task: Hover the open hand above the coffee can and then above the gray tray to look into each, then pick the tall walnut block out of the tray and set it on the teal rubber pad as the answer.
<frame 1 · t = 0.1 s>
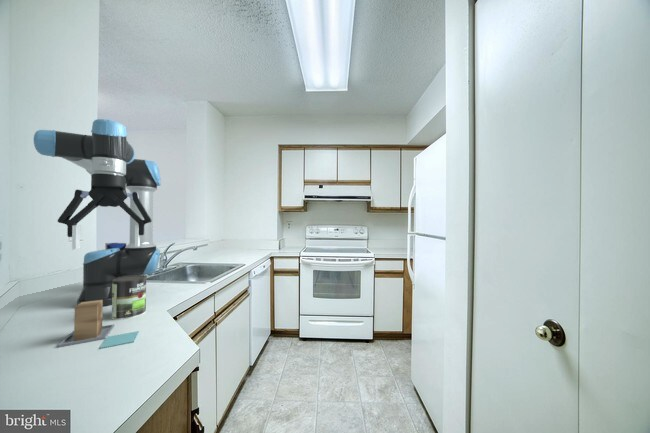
hand: (108, 247, 70), 28 cm above the worktop, tool pointing down, fingers open, 13 cm apart
teal pad: (120, 340, 72), on the worktop
gray tray: (88, 336, 74), on the worktop
coffee can: (129, 315, 92), on the worktop
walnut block: (88, 335, 74), resting on gray tray
juice carton: (115, 288, 128), on the worktop
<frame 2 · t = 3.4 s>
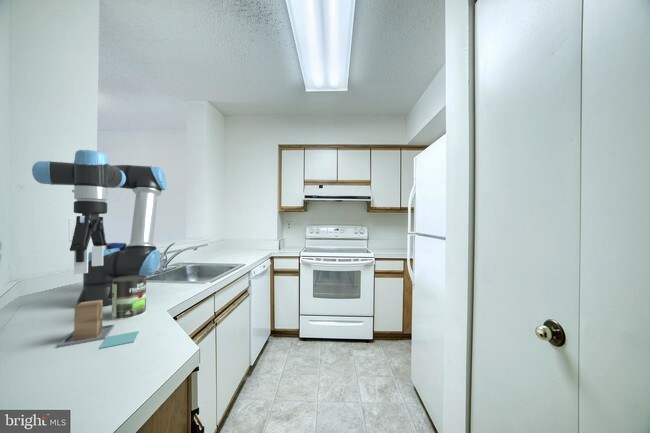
hand: (89, 269, 75), 21 cm above the worktop, tool pointing down, fingers open, 13 cm apart
nothing on the worktop moved.
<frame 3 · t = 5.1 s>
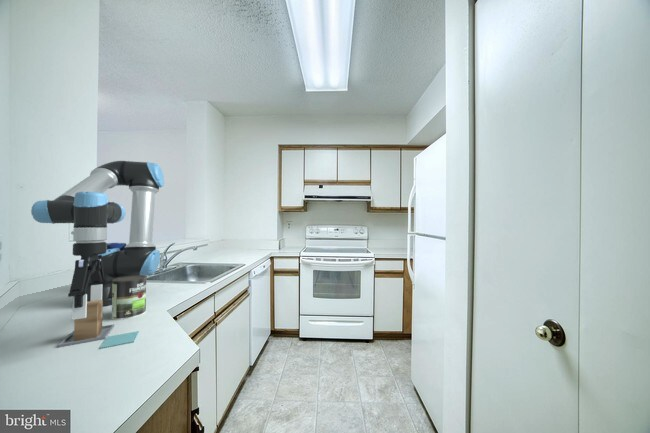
hand: (88, 311, 74), 8 cm above the worktop, tool pointing down, fingers open, 13 cm apart
nothing on the worktop moved.
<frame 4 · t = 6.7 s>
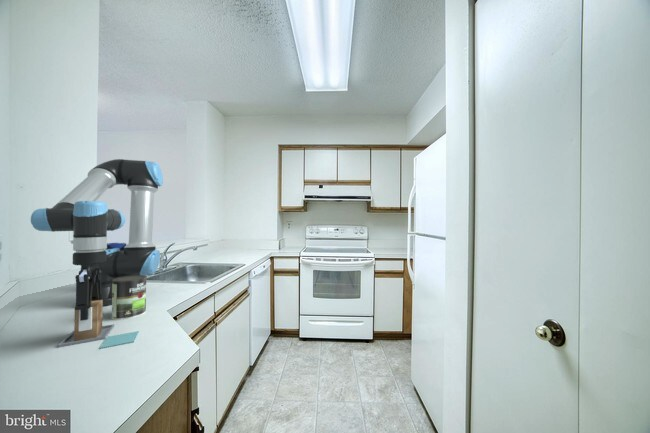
hand: (88, 326, 74), 3 cm above the worktop, tool pointing down, fingers closed on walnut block, 5 cm apart
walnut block: (88, 335, 74), resting on gray tray, touching gripper
everything else where it was.
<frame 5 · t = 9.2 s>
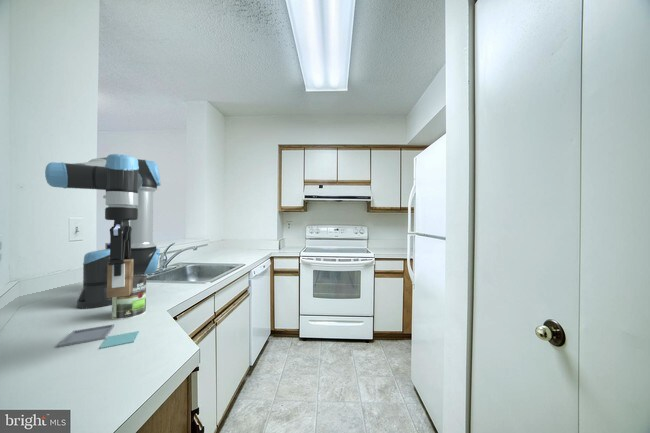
hand: (120, 284, 72), 17 cm above the worktop, tool pointing down, fingers closed on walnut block, 5 cm apart
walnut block: (120, 294, 72), point 14 cm above the worktop, touching gripper
everything else where it was.
when the fingers open (5 cm above the worktop, at t = 11.9 s): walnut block drops 1 cm, resting on teal pad.
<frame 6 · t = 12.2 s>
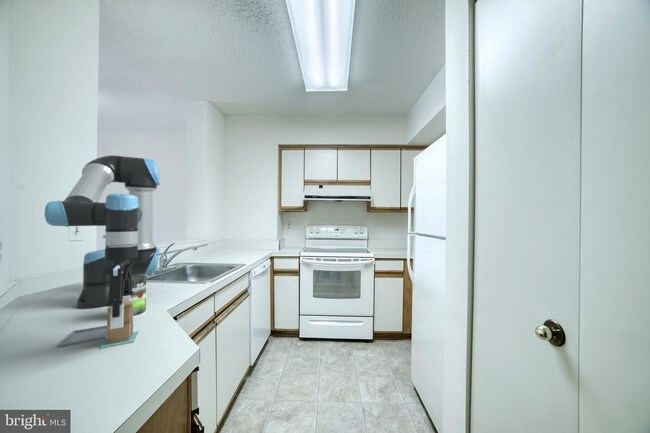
hand: (120, 322, 72), 6 cm above the worktop, tool pointing down, fingers open, 8 cm apart
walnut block: (120, 338, 72), point 1 cm above the worktop, touching teal pad
everything else where it was.
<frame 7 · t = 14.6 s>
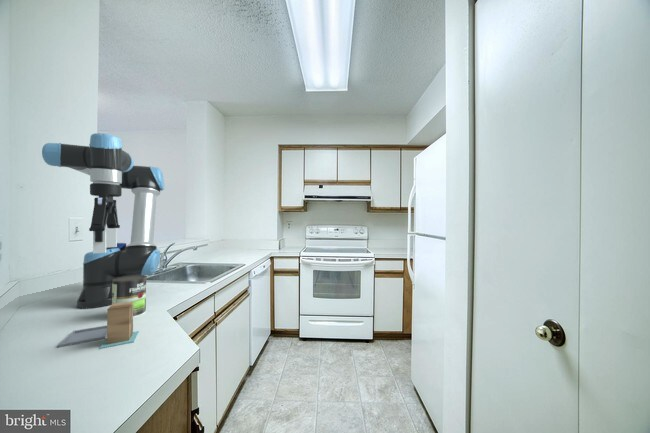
hand: (106, 249, 77), 26 cm above the worktop, tool pointing down, fingers open, 13 cm apart
nothing on the worktop moved.
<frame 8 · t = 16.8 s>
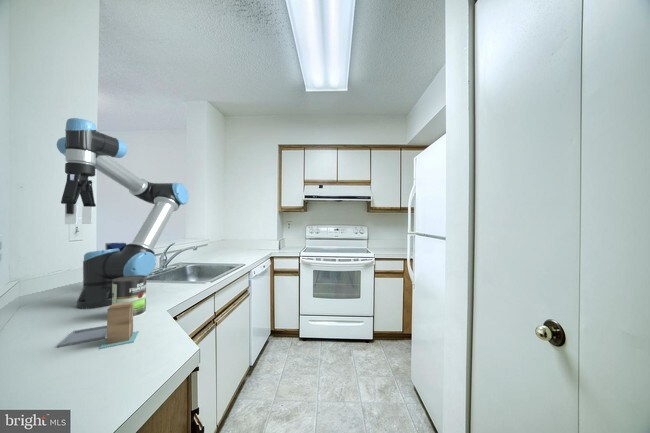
hand: (79, 224, 85), 35 cm above the worktop, tool pointing down, fingers open, 13 cm apart
nothing on the worktop moved.
at the end: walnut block 0.0 cm off-centre on the teal pad, point 0.6 cm above the teal pad's base; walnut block tilted 0°; coffee can moved 0.2 cm from its start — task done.
